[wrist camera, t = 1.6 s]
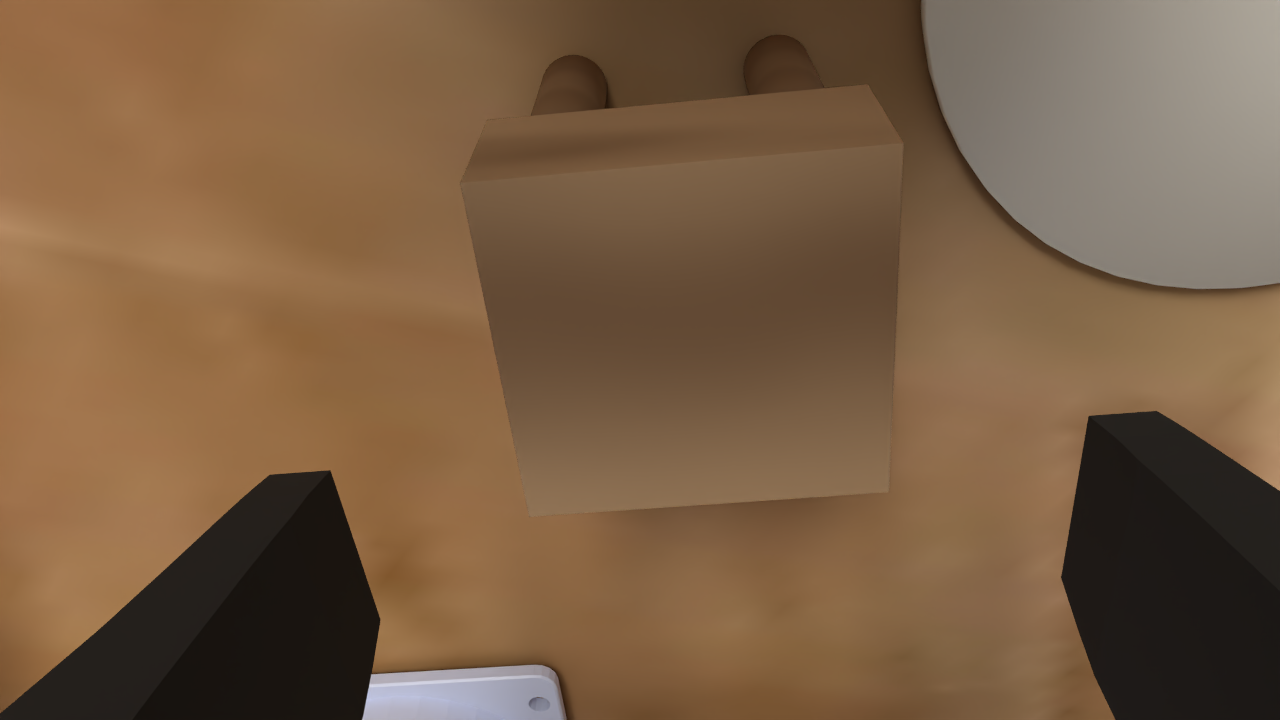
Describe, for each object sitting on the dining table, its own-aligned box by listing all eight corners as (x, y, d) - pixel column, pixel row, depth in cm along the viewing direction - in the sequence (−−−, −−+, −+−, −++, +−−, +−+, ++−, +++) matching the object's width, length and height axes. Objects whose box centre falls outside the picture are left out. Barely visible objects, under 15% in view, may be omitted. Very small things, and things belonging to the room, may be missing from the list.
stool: (824, 287, 19) (889, 491, 14) (562, 308, 19) (529, 516, 14) (824, 14, 16) (903, 143, 11) (519, 44, 16) (460, 183, 11)
